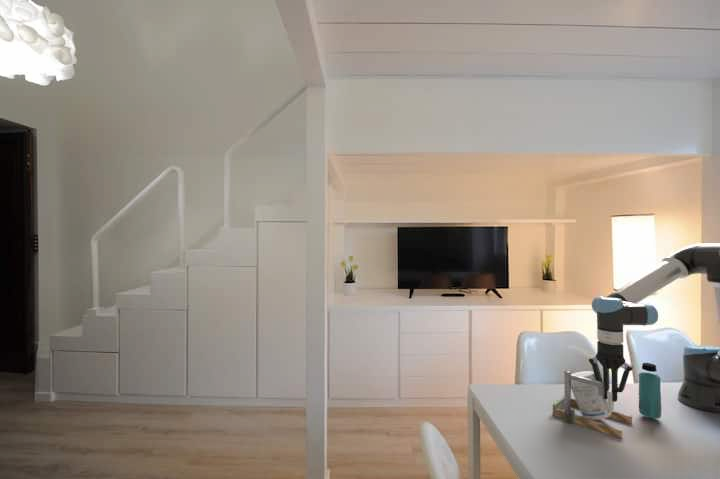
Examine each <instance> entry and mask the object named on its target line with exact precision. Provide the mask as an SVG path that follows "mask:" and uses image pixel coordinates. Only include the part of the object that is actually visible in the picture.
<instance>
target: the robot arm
mask: <svg viewBox="0 0 720 479" xmlns="http://www.w3.org/2000/svg"><path fill="white" fill-rule="evenodd" d="M695 274H702V275H703V274H704V275H706V280H707V282H708V283H709V284H710V285H713V288H714V295H715V304H716V310H717V317H718V318H717V319H718V326H719V328H720V243H706V242H705V243H704V242H702V243H694V244H691V245H688V246H685V247H683V248H680V249H678V250H676V251H674V252H672V253H670V254H669V255H668V256H666V257H664V258H663V259H662V261H661V263H659V264H658V265H656V266H655V267H653V268H651V269H650V270H648V271H646V272H645V273H643V274H641V275H640V276H638V277H636V278H634V279H633V280H632V281H630V282H628V283H627V284H625V285H624V286H622V287H621V288H619V289H617V290H615V291H614V292H612V293H611V294H609V295H607V296H603V295H602V296H600V295H598V296H596V297H595V298H594V299H593V300H592V302H591V308H592V311H593V312H594V313H595V314H596V327H597V328H596V331H597V332H596V339H597V340H598V341H597V343H596V347H597V348H596V349H597V350H596V351H597V352H596V354H595V356H593V357H589V359H588V362H589V363H590V365H591V367H592V371H593V372H594V374H595V378H596V381H600V382H604V383H605V395H604V399H606V400H607V410H609V411H615V402H617V401H618V393H623V391H624V390H625V387H626V385H627V381H628V378H629V374H630V372H631V371H632V370H633V369H634V366H633V365H632V364H629V363H628V362H626V359H625V357H624V344H623V343H624V326H644V327H645V326H653V325H655V324H656V323H657V322H658V321H659V312H658V310H657V308H656V307H655V306H654V305H652V304H650V303H644V302H641V301H643V300H645V299H646V298H648V297H650V296H651V295H653V294H655V293H656V292H658V291H660V290H662V289H663V288H665V287H666V286H668V285H670V284H671V283H673V282H674V281H676V280H678V279H685V278H687V277H689V276H691V275H695ZM682 358H683V359H682V360H683V362H682V363H683V366H682V367H683V381H682V384H681V386H680V388H679V390H678V393H677V400H679V401H680V402H681V403H683V404H684V405H687V406H689V407H692V408H696V409H697V410H702V411H707V412H711V413H719V414H720V346H719V347H718V346H712V345H701V344H700V345H698V344H691V345H690V344H689V345H686V346H684V348H683V355H682ZM598 363H600V366H602V375H601V371H600V367H599V364H598ZM621 367H623V373H622V376H621V379H620V382H618V381H619V380H618V379H619V378H618V374H619V369H620V368H621ZM610 370H611V388H610ZM618 383H619V384H618ZM618 385H619V386H618Z"/></svg>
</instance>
